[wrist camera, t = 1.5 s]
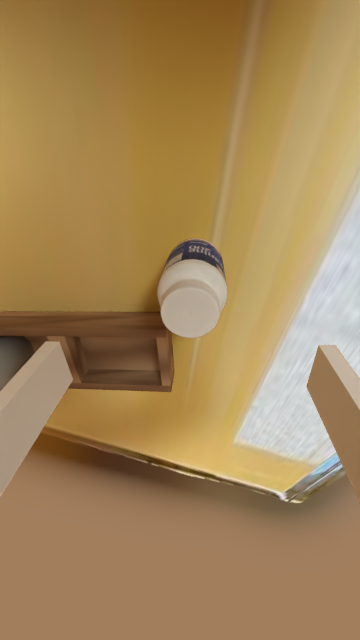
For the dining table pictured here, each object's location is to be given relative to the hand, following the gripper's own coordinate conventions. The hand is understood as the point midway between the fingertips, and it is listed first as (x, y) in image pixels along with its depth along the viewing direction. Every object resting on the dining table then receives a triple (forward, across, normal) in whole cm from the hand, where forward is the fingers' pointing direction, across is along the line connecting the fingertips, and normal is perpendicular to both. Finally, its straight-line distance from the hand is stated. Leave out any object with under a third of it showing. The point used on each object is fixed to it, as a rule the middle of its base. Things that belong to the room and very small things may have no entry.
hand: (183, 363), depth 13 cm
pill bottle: (+14, 0, 0) cm, 14 cm away
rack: (+14, -15, -10) cm, 23 cm away
